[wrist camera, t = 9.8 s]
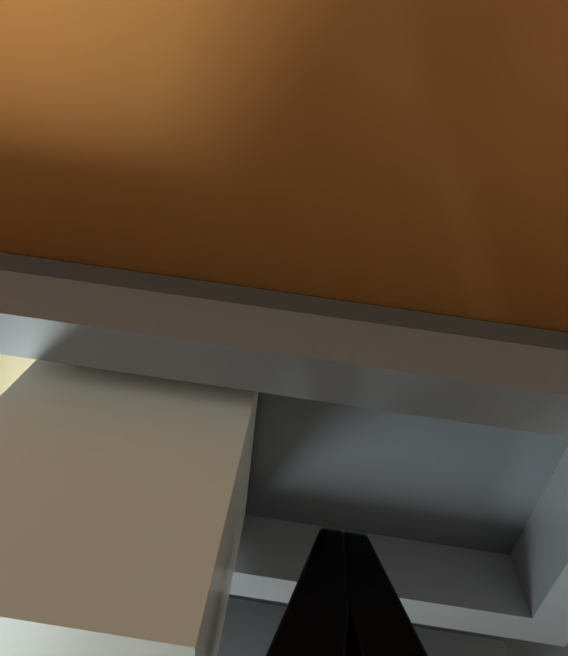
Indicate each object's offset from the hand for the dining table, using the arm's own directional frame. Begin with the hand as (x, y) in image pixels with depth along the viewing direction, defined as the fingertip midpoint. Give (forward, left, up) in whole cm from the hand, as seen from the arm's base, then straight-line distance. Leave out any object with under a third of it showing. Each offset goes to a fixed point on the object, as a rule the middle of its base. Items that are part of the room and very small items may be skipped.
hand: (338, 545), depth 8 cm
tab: (+4, 0, -2) cm, 4 cm away
